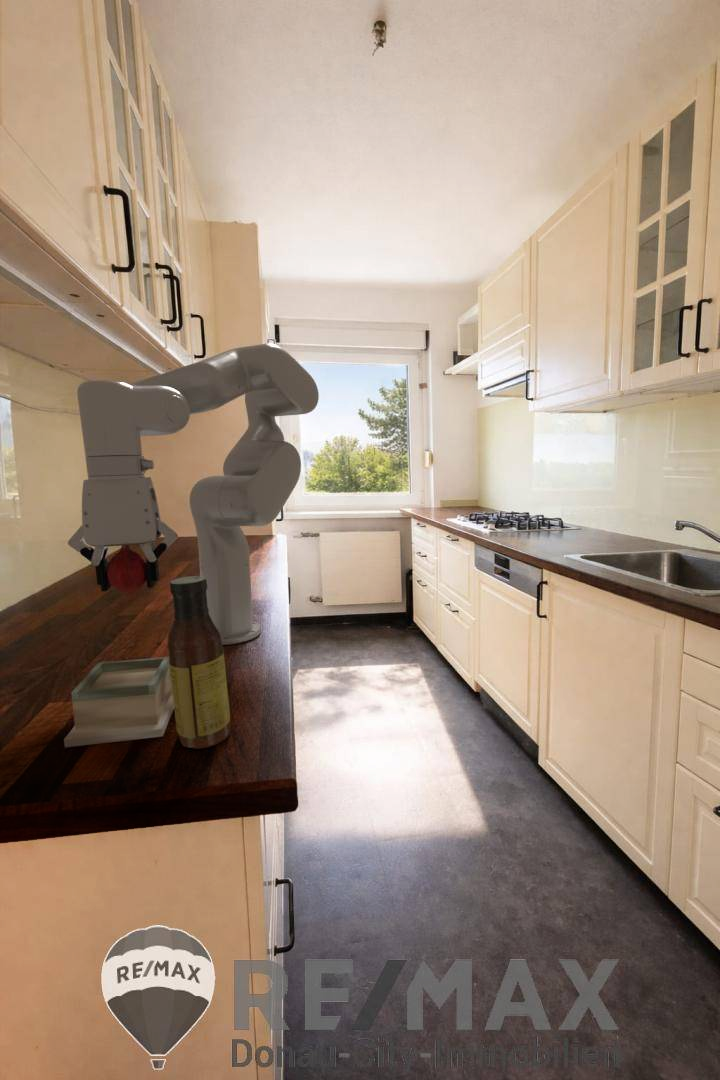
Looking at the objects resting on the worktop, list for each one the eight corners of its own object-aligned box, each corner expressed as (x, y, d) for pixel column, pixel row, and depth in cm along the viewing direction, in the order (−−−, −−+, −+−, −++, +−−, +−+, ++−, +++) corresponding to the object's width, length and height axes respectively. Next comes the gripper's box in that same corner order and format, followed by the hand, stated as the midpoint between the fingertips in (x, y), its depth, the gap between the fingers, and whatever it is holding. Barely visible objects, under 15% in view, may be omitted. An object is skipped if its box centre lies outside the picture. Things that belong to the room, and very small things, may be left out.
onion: (153, 596, 72) (147, 544, 71) (111, 603, 70) (104, 549, 68) (148, 588, 77) (143, 539, 76) (109, 594, 75) (102, 543, 73)
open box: (99, 700, 68) (95, 659, 67) (180, 693, 70) (177, 652, 69) (64, 747, 57) (59, 698, 56) (162, 736, 59) (158, 688, 58)
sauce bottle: (236, 723, 61) (227, 572, 59) (224, 751, 55) (213, 584, 52) (184, 725, 61) (173, 573, 58) (166, 753, 55) (153, 585, 52)
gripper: (181, 466, 75) (192, 577, 79) (62, 470, 72) (78, 585, 75) (172, 467, 68) (184, 589, 71) (40, 471, 65) (58, 599, 68)
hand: (129, 586), depth 73 cm, fingers closed on onion, 5 cm apart
